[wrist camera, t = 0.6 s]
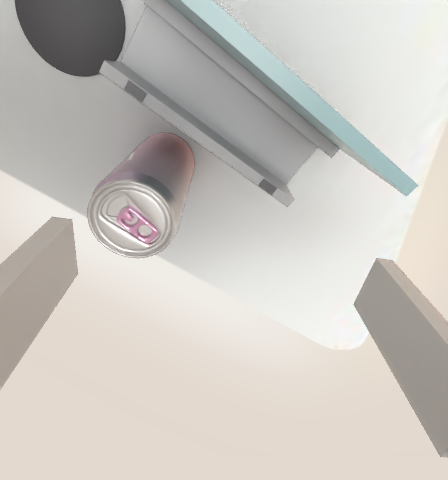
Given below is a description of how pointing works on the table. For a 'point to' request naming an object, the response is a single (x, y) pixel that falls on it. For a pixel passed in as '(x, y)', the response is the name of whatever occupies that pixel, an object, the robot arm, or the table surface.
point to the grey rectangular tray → (214, 100)
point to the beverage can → (143, 198)
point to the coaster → (73, 32)
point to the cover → (290, 88)
